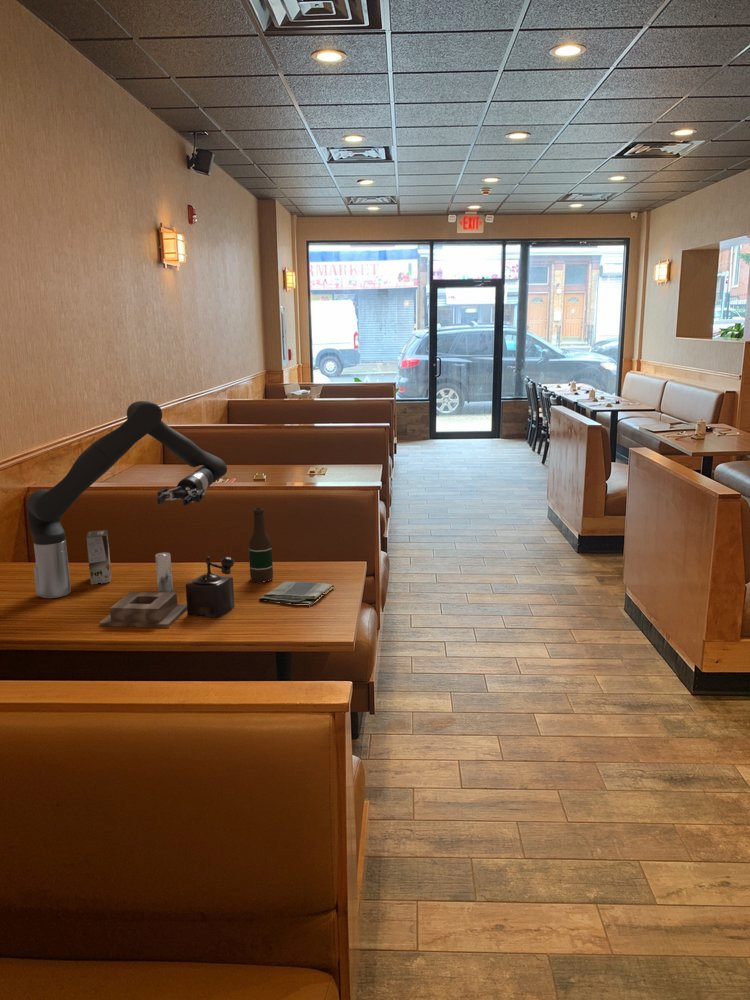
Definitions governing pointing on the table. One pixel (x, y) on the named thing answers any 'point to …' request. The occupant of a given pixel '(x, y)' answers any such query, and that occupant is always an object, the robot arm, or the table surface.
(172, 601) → the socket block
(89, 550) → the coffee box
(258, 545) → the beer bottle
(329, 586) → the dish towel
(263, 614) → the table surface
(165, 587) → the pin
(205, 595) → the dark manual coffee grinder
